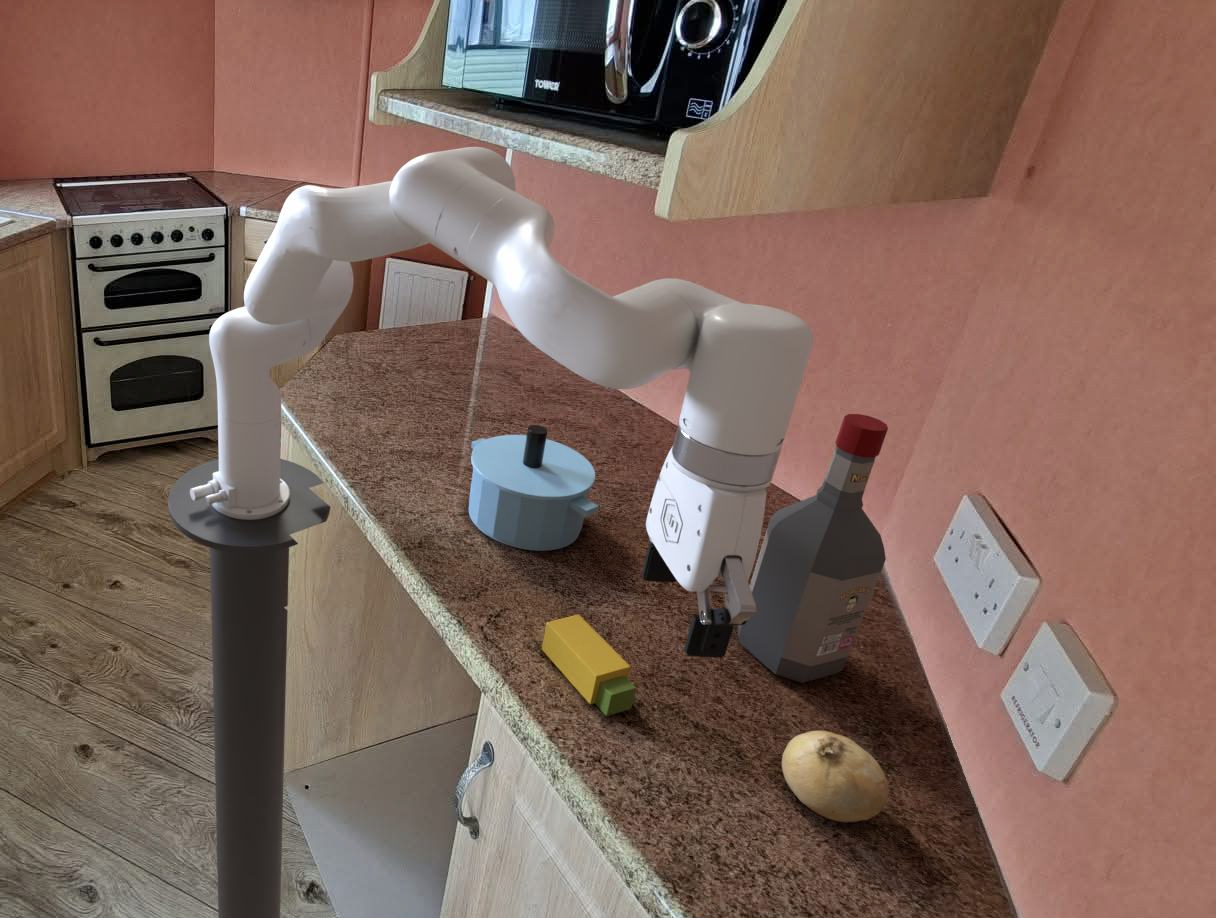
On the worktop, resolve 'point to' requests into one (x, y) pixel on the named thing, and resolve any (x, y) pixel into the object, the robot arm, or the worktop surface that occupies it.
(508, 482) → the lid
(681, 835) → the worktop surface
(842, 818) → the onion
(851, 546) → the liquor
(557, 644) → the corn
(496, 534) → the pot
